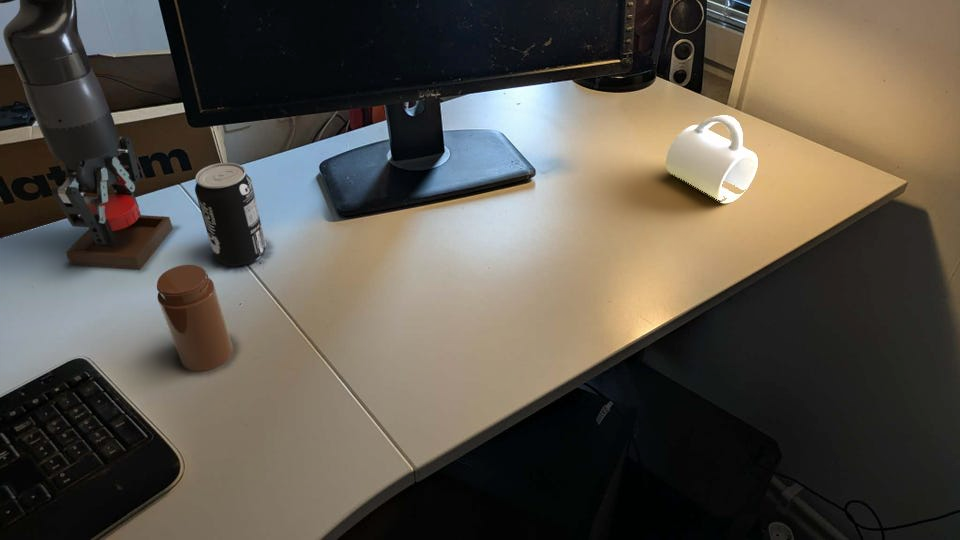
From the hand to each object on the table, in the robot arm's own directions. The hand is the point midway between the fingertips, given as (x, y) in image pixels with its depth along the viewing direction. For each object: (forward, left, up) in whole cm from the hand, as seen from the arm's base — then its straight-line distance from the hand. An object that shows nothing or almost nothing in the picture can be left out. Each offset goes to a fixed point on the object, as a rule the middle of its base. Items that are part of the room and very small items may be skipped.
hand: (120, 230), depth 87 cm
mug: (+80, +24, -3) cm, 83 cm away
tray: (0, 0, -2) cm, 2 cm away
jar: (+19, -18, -2) cm, 27 cm away
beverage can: (+16, 0, -3) cm, 16 cm away
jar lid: (0, 0, +3) cm, 3 cm away
